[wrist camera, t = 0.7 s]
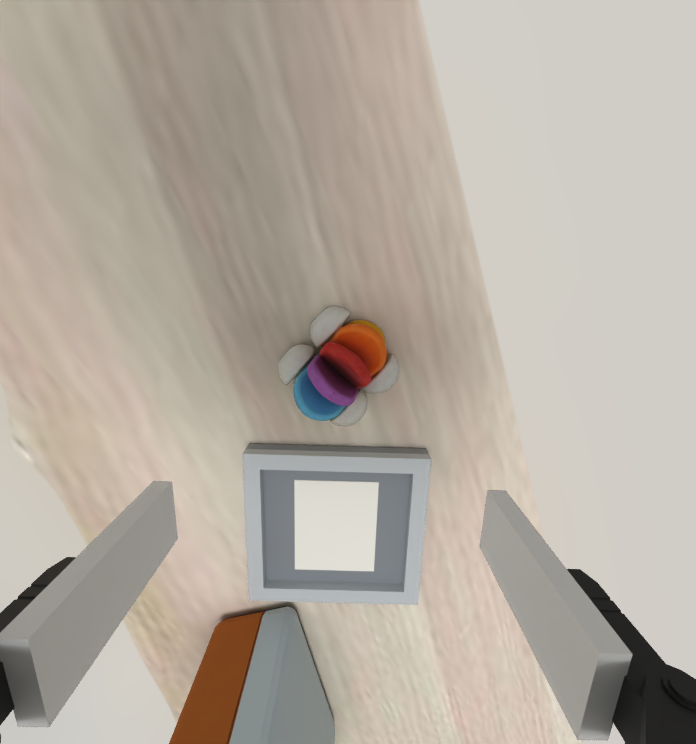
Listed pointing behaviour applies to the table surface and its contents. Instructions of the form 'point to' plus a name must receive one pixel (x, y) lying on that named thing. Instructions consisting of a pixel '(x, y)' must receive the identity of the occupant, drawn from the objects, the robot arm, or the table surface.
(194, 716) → the rectangular block
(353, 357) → the rainbow disc rolling toy
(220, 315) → the table surface
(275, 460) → the square gray tray
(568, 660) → the robot arm
